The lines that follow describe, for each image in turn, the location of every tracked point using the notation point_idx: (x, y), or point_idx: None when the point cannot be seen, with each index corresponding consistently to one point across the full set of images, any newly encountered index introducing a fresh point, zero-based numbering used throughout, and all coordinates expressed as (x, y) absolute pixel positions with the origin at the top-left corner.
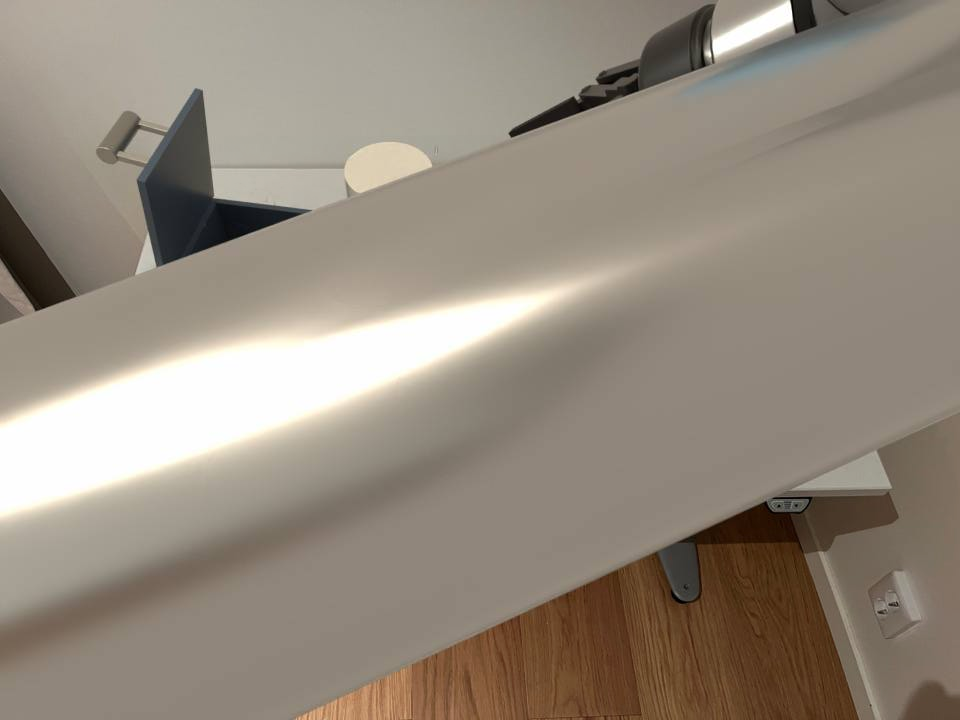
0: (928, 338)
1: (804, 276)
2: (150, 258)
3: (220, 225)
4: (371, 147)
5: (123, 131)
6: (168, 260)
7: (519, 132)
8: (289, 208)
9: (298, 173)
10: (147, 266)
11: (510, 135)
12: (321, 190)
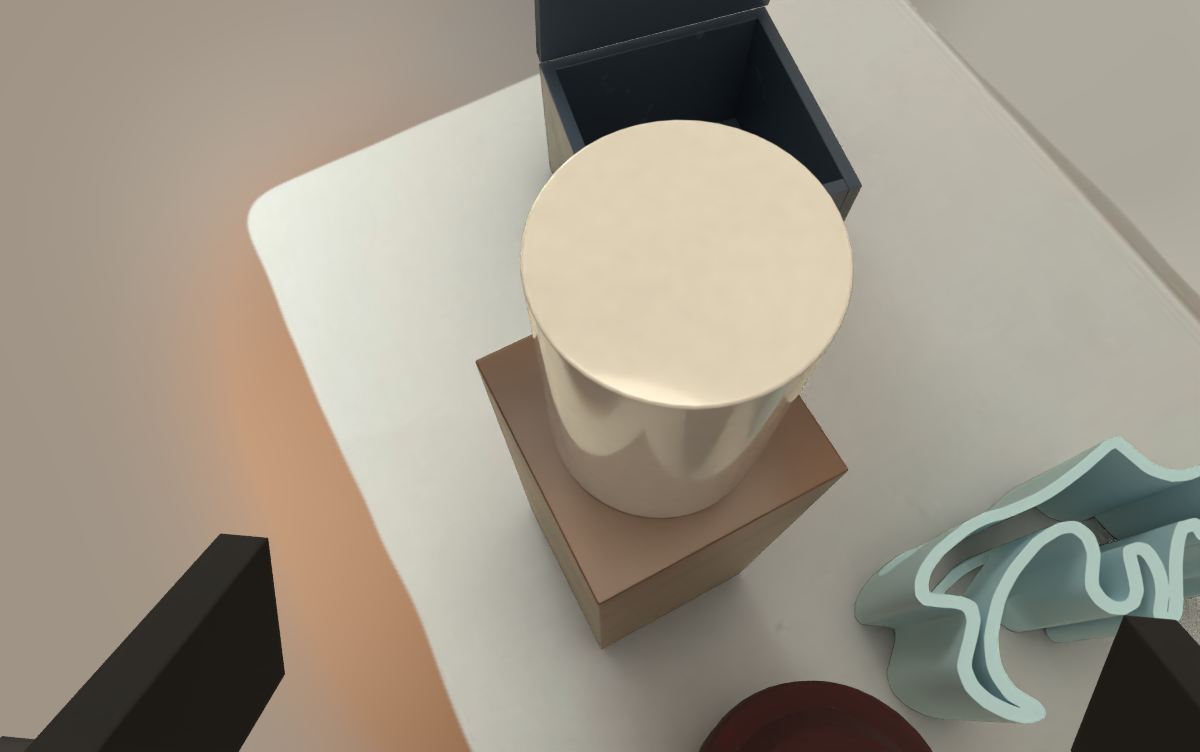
0: None
1: None
2: None
3: (737, 57)
4: (757, 151)
5: None
6: (560, 30)
7: (1155, 685)
8: (825, 126)
9: (977, 96)
10: None
11: (1121, 631)
12: (968, 151)
